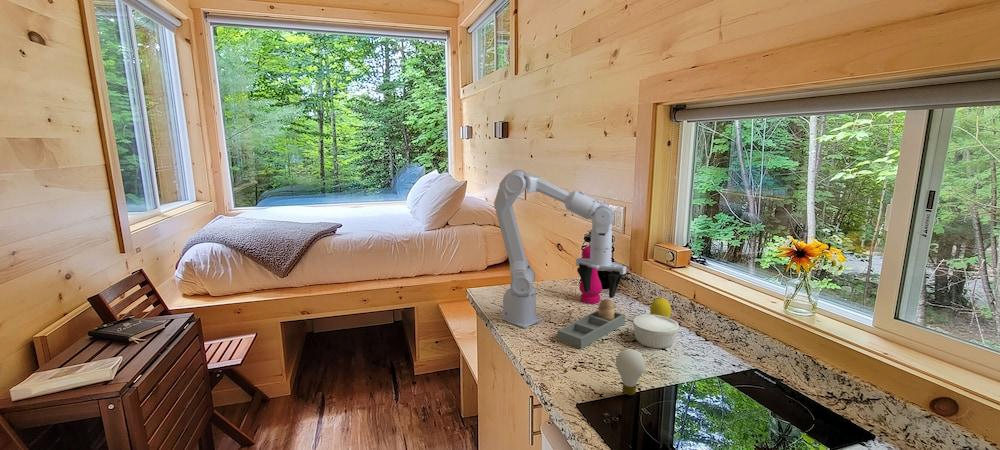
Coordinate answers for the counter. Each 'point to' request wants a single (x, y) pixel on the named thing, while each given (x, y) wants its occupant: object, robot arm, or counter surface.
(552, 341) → the counter surface
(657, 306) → the lemon
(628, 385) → the light bulb
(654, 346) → the ramekin
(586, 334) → the tray
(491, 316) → the counter surface
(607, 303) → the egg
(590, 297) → the pepper mill
